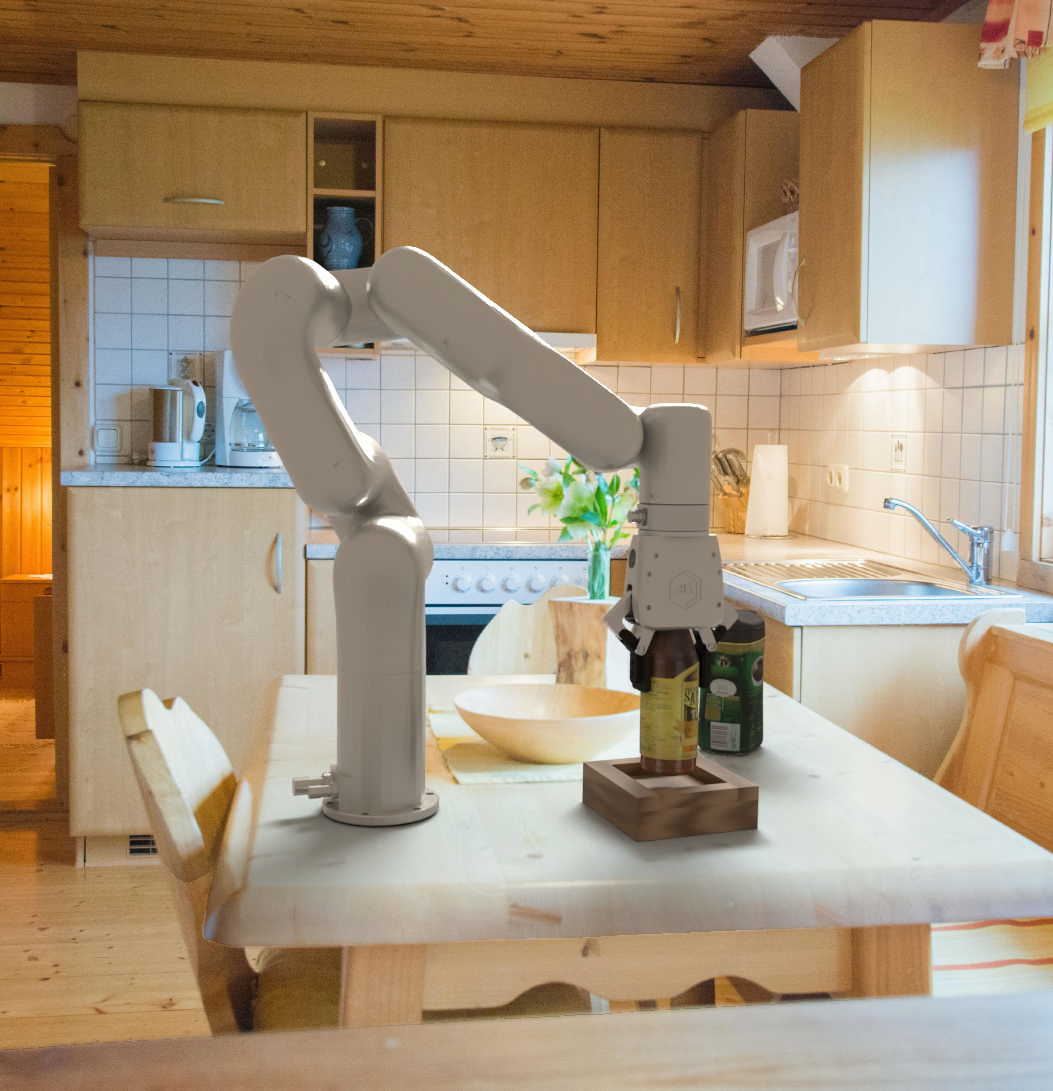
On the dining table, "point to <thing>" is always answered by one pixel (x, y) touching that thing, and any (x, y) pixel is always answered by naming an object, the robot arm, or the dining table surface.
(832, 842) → the dining table surface
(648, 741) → the sauce bottle
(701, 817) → the walnut block
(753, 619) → the coffee jar
